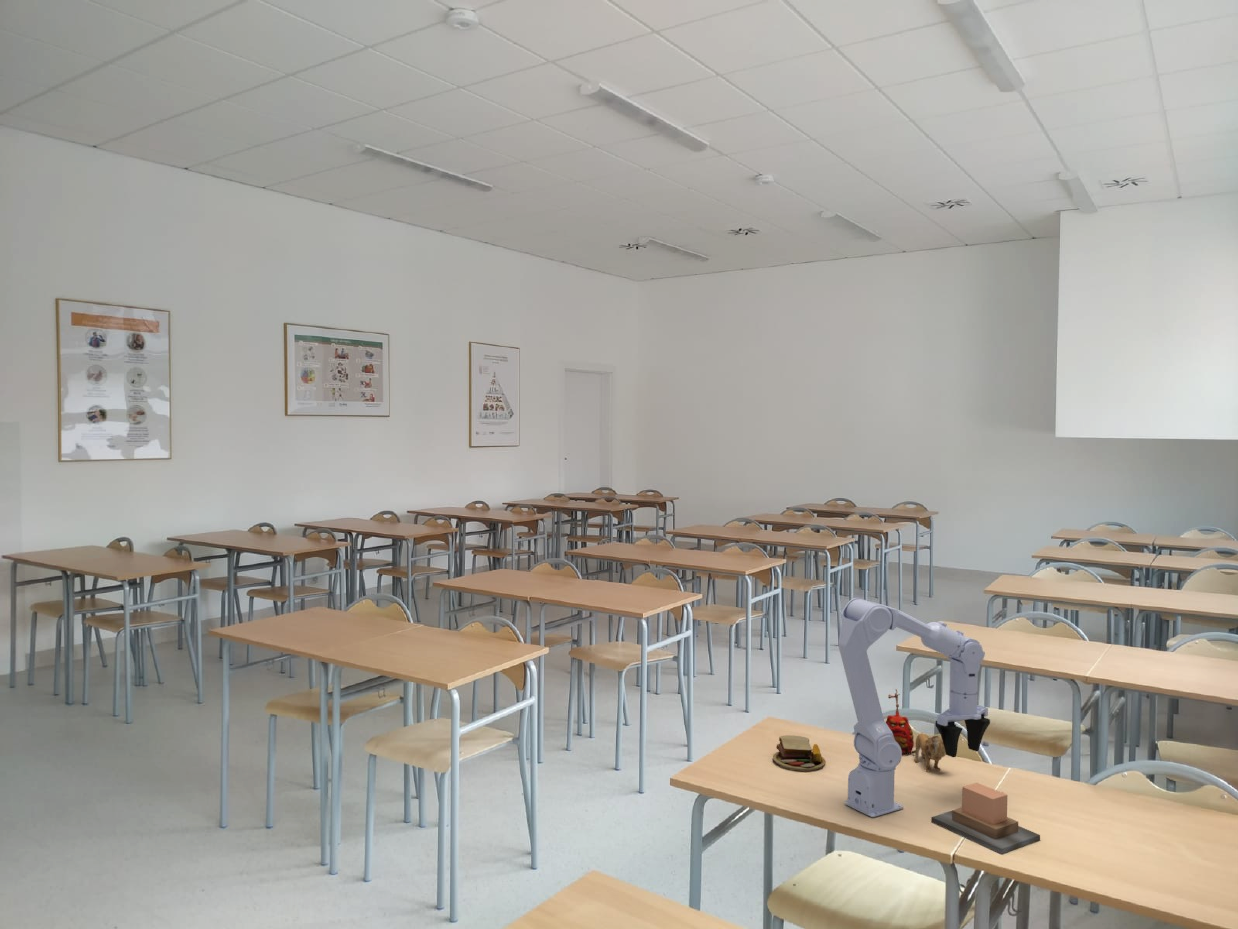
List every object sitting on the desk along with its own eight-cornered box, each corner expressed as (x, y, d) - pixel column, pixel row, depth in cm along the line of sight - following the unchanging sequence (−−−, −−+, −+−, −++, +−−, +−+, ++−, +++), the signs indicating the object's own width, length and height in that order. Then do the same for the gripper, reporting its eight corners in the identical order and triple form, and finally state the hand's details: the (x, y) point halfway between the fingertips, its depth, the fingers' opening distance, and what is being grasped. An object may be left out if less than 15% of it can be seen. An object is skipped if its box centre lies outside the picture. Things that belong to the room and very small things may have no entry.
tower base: (1001, 854, 160) (1001, 838, 160) (931, 822, 174) (931, 807, 174) (1040, 840, 166) (1040, 825, 166) (969, 810, 180) (969, 795, 180)
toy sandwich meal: (773, 771, 201) (773, 751, 201) (772, 751, 214) (772, 733, 214) (827, 775, 199) (827, 755, 199) (823, 755, 212) (823, 736, 212)
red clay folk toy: (883, 754, 213) (884, 695, 212) (880, 745, 219) (881, 687, 219) (915, 757, 211) (916, 697, 211) (911, 747, 218) (912, 689, 218)
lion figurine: (955, 776, 199) (955, 738, 199) (934, 777, 198) (935, 739, 198) (920, 754, 213) (921, 718, 213) (901, 755, 212) (901, 719, 212)
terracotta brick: (992, 824, 166) (993, 799, 166) (961, 811, 172) (962, 786, 172) (1006, 820, 168) (1007, 794, 168) (976, 806, 174) (976, 782, 174)
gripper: (957, 700, 179) (956, 764, 179) (1000, 691, 186) (999, 752, 186) (929, 692, 185) (928, 754, 185) (972, 683, 192) (971, 743, 192)
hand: (962, 753), depth 186 cm, fingers open, 7 cm apart
